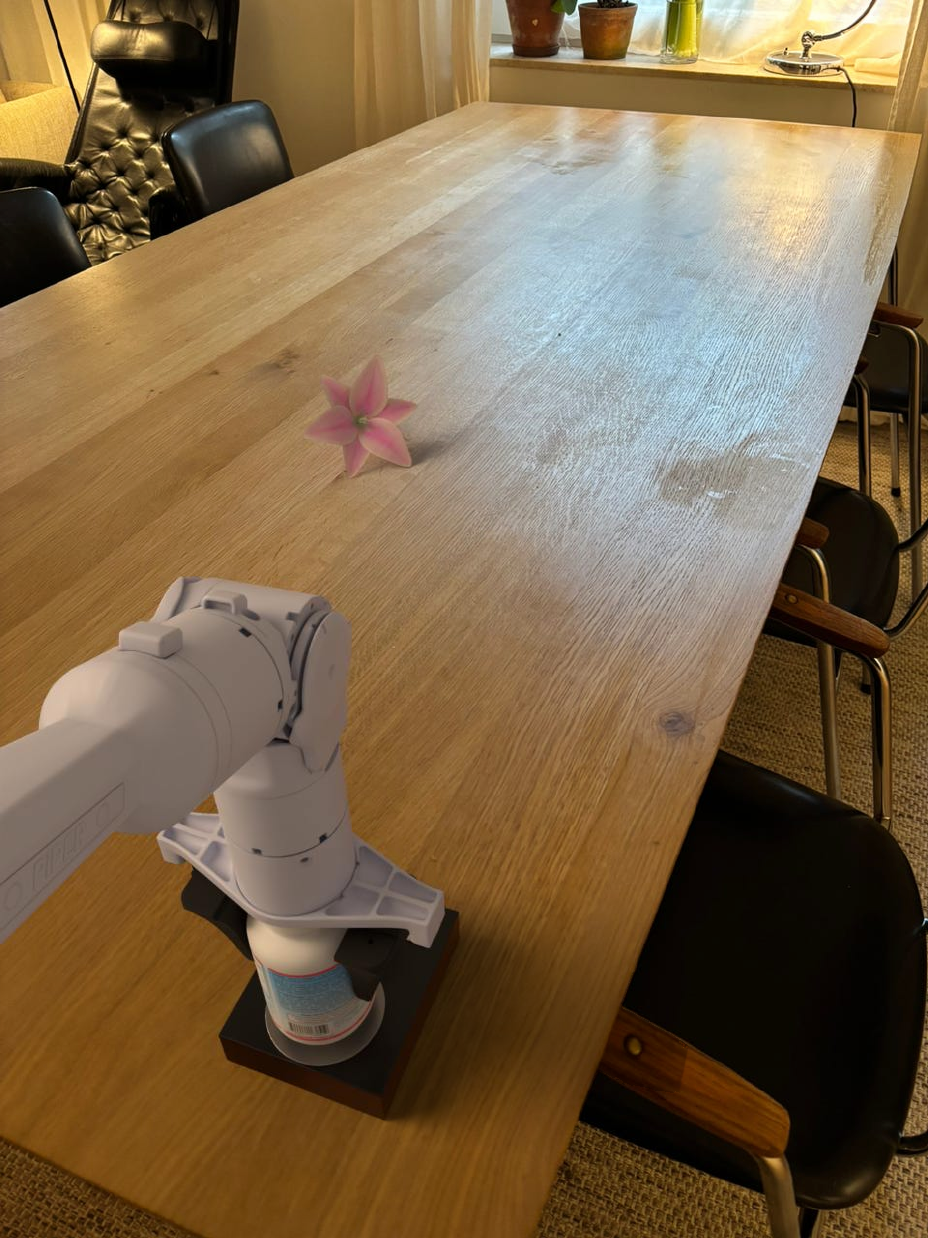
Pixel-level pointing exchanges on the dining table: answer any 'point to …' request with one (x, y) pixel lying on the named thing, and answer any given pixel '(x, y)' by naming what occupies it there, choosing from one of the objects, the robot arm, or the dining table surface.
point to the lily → (363, 418)
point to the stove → (385, 1059)
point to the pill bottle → (306, 982)
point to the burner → (335, 1050)
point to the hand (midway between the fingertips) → (316, 965)
